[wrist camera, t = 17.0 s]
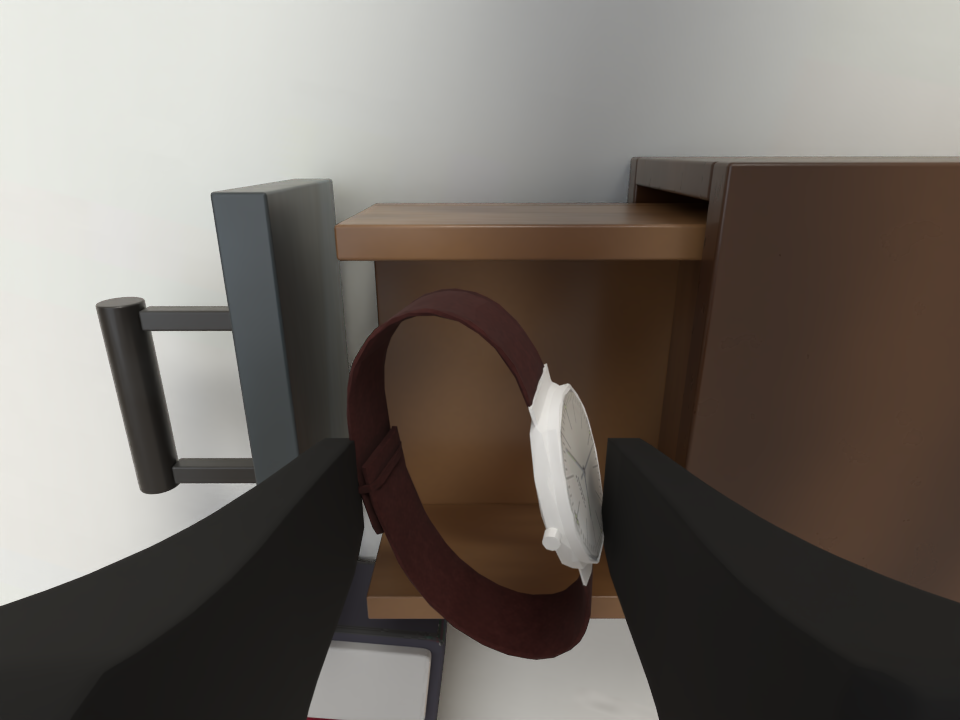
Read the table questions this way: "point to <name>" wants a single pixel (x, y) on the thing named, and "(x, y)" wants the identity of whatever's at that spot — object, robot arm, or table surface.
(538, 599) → the watch
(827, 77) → the table surface
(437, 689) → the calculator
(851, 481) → the cabinet
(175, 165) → the table surface
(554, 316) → the drawer
